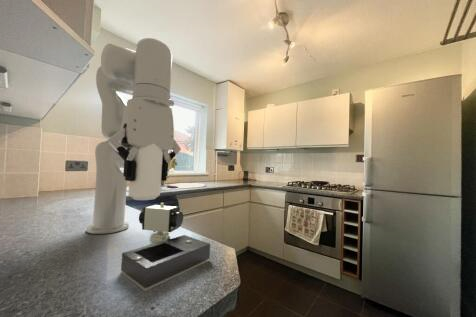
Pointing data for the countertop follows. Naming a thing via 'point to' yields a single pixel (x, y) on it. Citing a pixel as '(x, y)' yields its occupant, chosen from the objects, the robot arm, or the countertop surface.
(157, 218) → the pneumatic valve
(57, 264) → the countertop surface
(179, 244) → the grey pocketed holder block
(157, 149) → the beverage can
